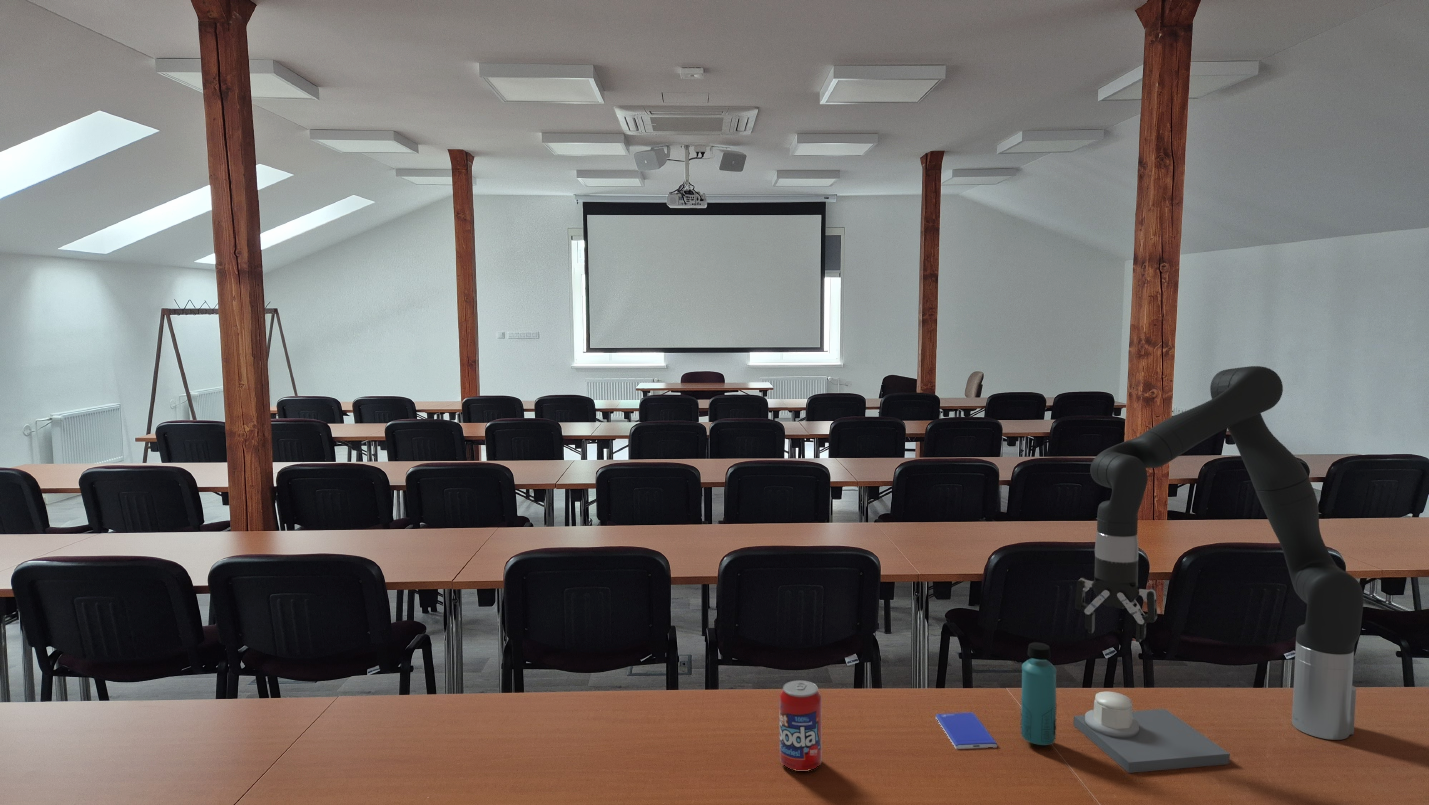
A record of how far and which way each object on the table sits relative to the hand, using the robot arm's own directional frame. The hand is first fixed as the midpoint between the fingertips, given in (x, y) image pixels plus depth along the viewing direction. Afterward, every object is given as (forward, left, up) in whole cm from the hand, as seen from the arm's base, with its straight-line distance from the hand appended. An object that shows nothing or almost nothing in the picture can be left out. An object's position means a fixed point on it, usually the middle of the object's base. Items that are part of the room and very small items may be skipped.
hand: (1114, 636), depth 161 cm
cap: (0, 0, -17) cm, 17 cm away
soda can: (+63, +1, -21) cm, 66 cm away
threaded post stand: (-5, +4, -20) cm, 21 cm away
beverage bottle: (+16, +1, -21) cm, 26 cm away
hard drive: (+28, -6, -21) cm, 35 cm away
